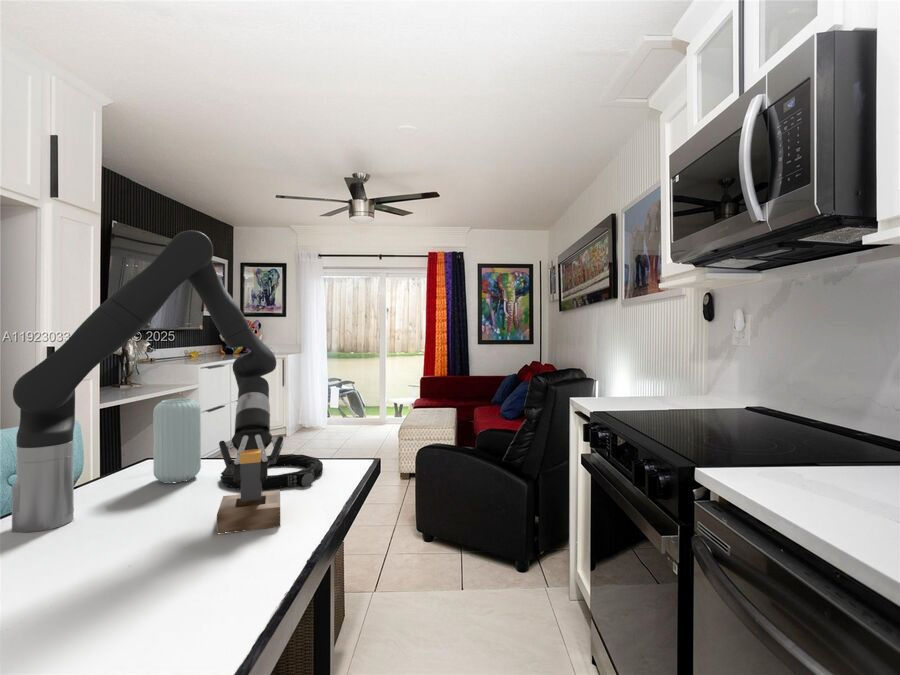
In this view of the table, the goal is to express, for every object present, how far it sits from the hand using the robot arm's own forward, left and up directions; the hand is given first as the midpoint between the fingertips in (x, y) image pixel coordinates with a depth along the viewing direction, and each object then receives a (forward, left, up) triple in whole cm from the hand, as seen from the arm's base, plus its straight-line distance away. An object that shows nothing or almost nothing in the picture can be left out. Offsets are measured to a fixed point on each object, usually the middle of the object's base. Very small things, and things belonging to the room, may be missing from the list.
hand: (250, 481), depth 101 cm
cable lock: (+5, +35, -9) cm, 37 cm away
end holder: (0, +2, -9) cm, 9 cm away
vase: (-21, +42, -9) cm, 48 cm away
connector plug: (0, +2, -4) cm, 5 cm away
